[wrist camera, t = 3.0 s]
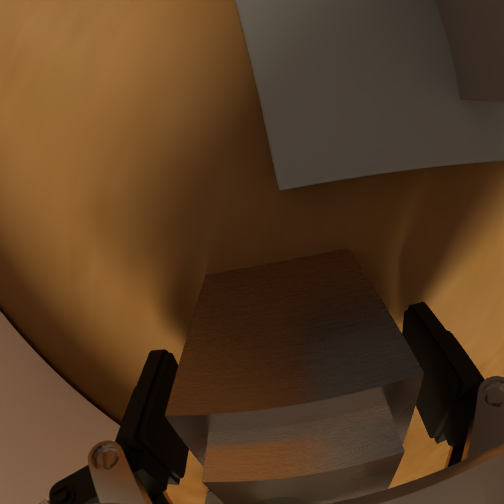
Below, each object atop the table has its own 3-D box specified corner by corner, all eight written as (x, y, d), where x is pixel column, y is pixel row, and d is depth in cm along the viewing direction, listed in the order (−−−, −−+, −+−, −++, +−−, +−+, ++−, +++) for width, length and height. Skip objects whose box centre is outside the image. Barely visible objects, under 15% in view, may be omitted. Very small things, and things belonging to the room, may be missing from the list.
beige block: (347, 248, 10) (448, 420, 4) (352, 375, 13) (391, 514, 6) (206, 274, 11) (152, 465, 4) (246, 394, 13) (241, 537, 6)
